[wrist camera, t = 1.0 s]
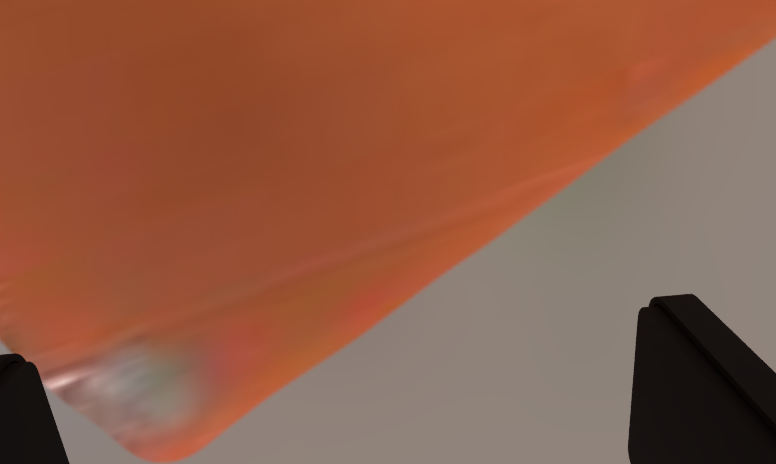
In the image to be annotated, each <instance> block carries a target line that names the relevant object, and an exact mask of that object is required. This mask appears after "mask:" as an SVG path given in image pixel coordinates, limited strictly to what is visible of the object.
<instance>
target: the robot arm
mask: <svg viewBox="0 0 776 464" xmlns="http://www.w3.org/2000/svg"><path fill="white" fill-rule="evenodd" d="M628 453H629V459H630V463H631V464H776V373H775V372H774V371H773V370H772V369H771V368H770V367H769V366H768V365H767V364H766V363H765V362H764V361H763V360H761V359H760V358H759V357H758V356H757V355H756V354H755V353H754V352H753V351H752V350H751V349H750V348H749V347H748V346H747V345H746V344H745V343H744V342H743V341H742V340H741V339H740V338H739V337H738V336H737V335H736V334H735V333H733V331H732V330H730V329H729V328H728V327H727V326H726V325H725V324H724V323H723V322H722V321H721V320H720V319H719V318H718V317H717V316H716V315H715V314H714V313H713V312H712V311H711V310H710V309H709V308H708V307H707V306H706V305H705V304H704V303H702V302H701V301H700V300H699V299H698V298H697V297H696V296H695V295H693V294H684V295H672V296H661V297H654V298H653V299H651V301H650V304H649V307H643V308H641V309H640V311H639V315H638V323H637V336H636V350H635V362H634V375H633V388H632V401H631V414H630V427H629V440H628ZM0 464H69V461H68V458H67V455H66V452H65V449H64V446H63V443H62V441H61V437H60V434H59V431H58V429H57V426H56V423H55V420H54V417H53V414H52V411H51V408H50V405H49V402H48V399H47V396H46V393H45V390H44V387H43V384H42V381H41V378H40V375H39V372H38V370H37V368H36V366H35V365H34V364H33V363H31V362H26V361H25V359H24V358H23V357H22V356H21V355H19V354H16V353H15V354H4V355H0Z"/></svg>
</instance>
